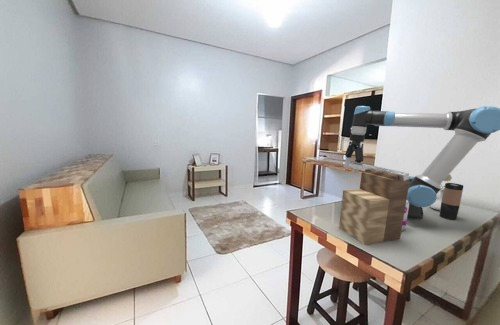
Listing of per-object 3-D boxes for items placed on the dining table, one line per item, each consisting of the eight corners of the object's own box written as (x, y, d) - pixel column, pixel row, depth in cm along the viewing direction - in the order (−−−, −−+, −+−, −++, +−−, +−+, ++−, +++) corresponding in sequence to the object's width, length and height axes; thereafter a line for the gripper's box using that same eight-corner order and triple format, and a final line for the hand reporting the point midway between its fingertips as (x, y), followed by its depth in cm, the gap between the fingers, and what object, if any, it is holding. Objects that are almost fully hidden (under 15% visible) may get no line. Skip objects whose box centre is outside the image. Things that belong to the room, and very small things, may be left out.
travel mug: (460, 221, 116) (467, 186, 112) (444, 219, 117) (451, 185, 114) (450, 215, 123) (456, 183, 120) (435, 214, 124) (441, 182, 121)
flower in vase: (457, 213, 127) (466, 174, 122) (439, 212, 127) (446, 173, 123) (438, 205, 139) (445, 169, 135) (421, 205, 140) (428, 169, 136)
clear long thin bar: (348, 167, 113) (348, 162, 113) (352, 165, 114) (352, 161, 114) (403, 180, 85) (403, 175, 85) (408, 178, 86) (408, 173, 86)
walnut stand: (338, 227, 103) (345, 169, 98) (370, 223, 108) (377, 168, 104) (365, 244, 88) (374, 177, 83) (399, 239, 93) (410, 175, 89)
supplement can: (405, 233, 99) (410, 203, 97) (385, 228, 103) (389, 199, 101) (404, 226, 106) (408, 199, 104) (385, 222, 110) (389, 195, 108)
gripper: (343, 132, 129) (337, 165, 133) (360, 134, 105) (352, 174, 109) (355, 133, 129) (349, 166, 133) (375, 136, 104) (367, 176, 108)
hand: (350, 170), depth 121 cm, fingers open, 13 cm apart
